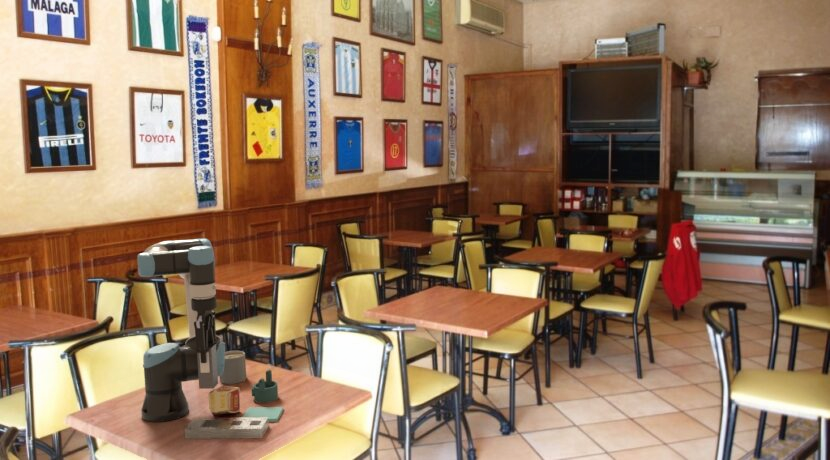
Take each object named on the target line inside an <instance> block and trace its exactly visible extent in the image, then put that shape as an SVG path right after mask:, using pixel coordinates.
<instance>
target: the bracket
mask: <svg viewBox="0 0 830 460" xmlns="http://www.w3.org/2000/svg"><path fill="white" fill-rule="evenodd" d="M272 376H273V375H272V370H271V369H267V370H266V371H265V379H264V378H263V377H261V378H259V380H258V381H257V382H256V383H254V384H253V385H252V387H250V388H251V397H254V398H253V399H254V401H255V403H259V404H260V403H261V404H262V403H264V404H267V403H272V402H275V401H276V400H278V399H279V393H278V392H279V391H278V389H279V388H278V382H277V381H275V380H274V381H273V377H272Z"/></svg>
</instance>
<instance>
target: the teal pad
mask: <svg viewBox="0 0 830 460" xmlns="http://www.w3.org/2000/svg"><path fill="white" fill-rule="evenodd" d="M284 408H285V407H284V406H275V407H274V406H272V407H271V406H267V407H266V406H265V407H264V406H263V407H262V406H260V407H259V406H258V407H256V406H254V407H251V406H250V407H248V408H247V409H246V410H245V412H244V414H243V415H241V418H243V417H268V423H270V422H271V423H274V422H275V423H277V422H278V421H279V419H280V418H281V415H282V414H283V412H284V411H285V410H284Z"/></svg>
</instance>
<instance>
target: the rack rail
mask: <svg viewBox="0 0 830 460" xmlns="http://www.w3.org/2000/svg"><path fill="white" fill-rule="evenodd" d="M269 426H270V425H269V422H268V417H243V418H242V417H194V418H192V420H191V421H190V422H189V424H188V425H186V427H185V428H184V431H183V432H184V439H186V440H193V439H194V440H196V439H197V440H198V439H201V440H202V439H204V440H205V439H209V440H211V439H262V438H263V436H264V435H265V433H266V431H267V430H268V428H269Z"/></svg>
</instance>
